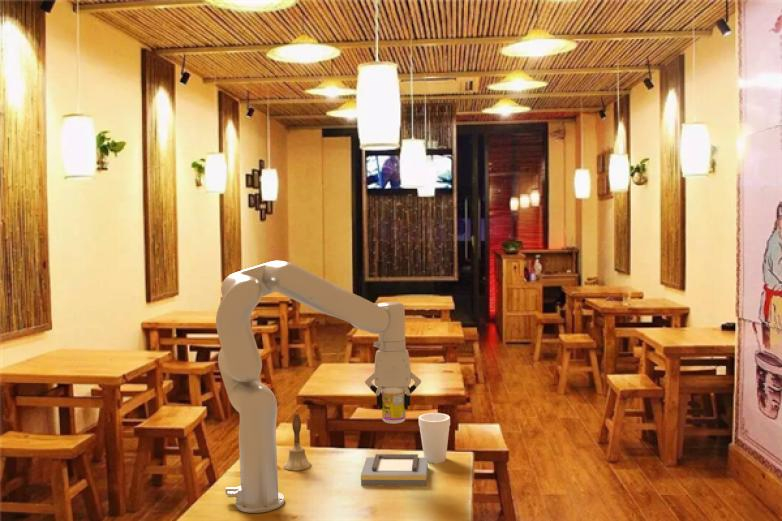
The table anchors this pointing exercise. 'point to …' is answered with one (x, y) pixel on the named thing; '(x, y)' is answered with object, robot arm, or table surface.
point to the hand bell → (297, 449)
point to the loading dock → (395, 472)
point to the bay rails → (395, 456)
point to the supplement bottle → (393, 405)
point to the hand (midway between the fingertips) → (393, 407)
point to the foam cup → (434, 436)
